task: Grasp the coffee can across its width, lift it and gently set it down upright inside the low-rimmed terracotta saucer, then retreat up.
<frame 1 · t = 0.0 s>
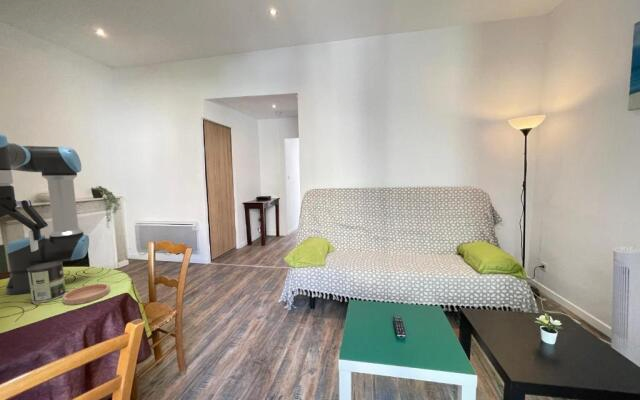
hand: (3, 253, 79), 28 cm above the table, fingers open, 13 cm apart
saucer: (87, 296, 109), on the table
coffee can: (49, 297, 109), on the table
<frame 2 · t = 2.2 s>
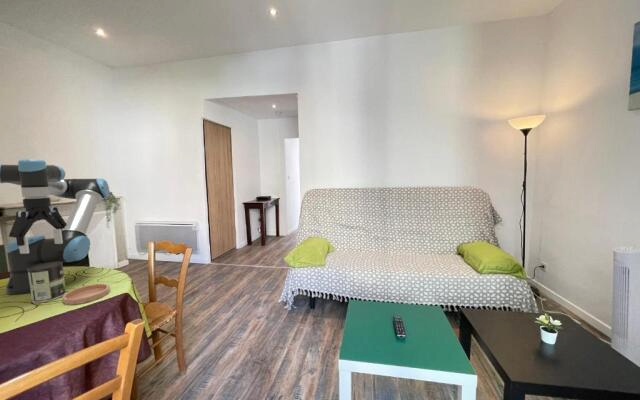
hand: (42, 248, 106), 22 cm above the table, fingers open, 13 cm apart
nothing on the table moved.
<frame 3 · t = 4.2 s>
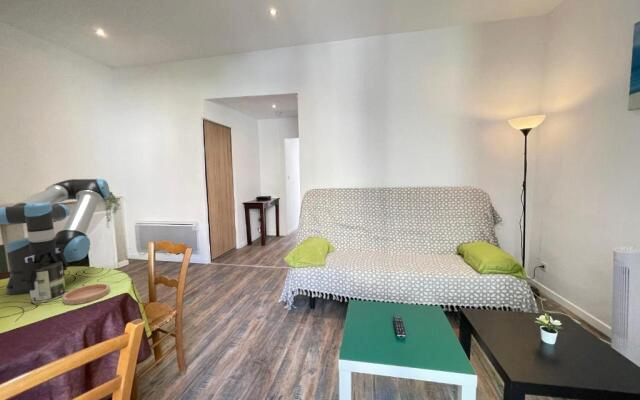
hand: (48, 290, 108), 3 cm above the table, fingers closed on coffee can, 10 cm apart
coffee can: (49, 297, 109), on the table, touching gripper
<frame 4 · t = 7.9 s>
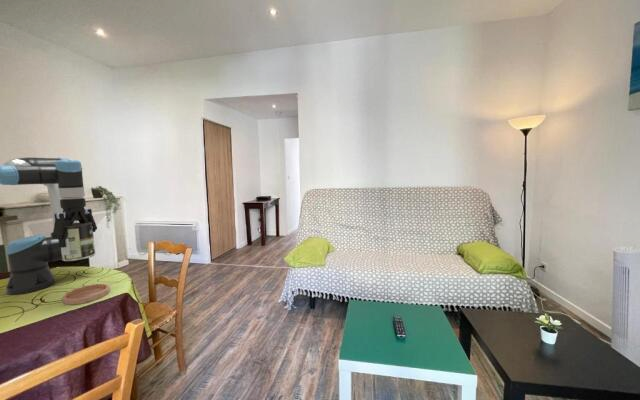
hand: (78, 250, 107), 20 cm above the table, fingers closed on coffee can, 10 cm apart
coffee can: (79, 257, 107), point 17 cm above the table, touching gripper
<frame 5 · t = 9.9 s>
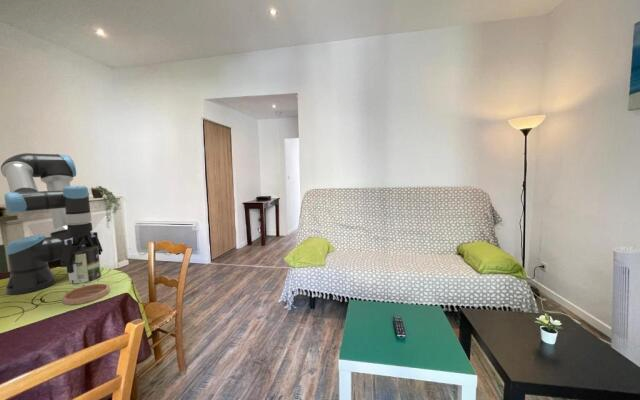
hand: (85, 274, 108), 10 cm above the table, fingers closed on coffee can, 10 cm apart
coffee can: (85, 281, 109), point 7 cm above the table, touching gripper
when the fingers open (5 cm above the table, at t = 11.5 s): coffee can drops 1 cm, resting on saucer.
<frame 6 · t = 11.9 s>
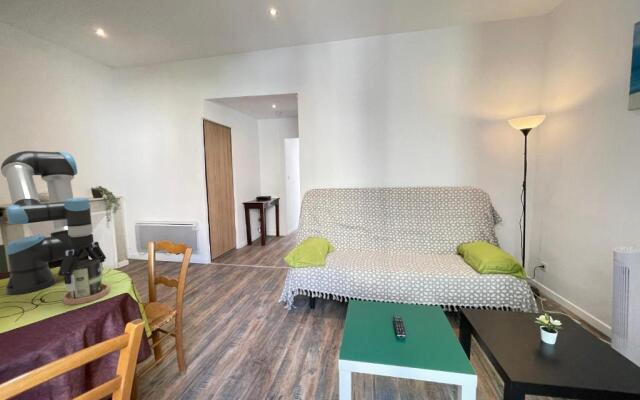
hand: (86, 283, 109), 6 cm above the table, fingers open, 13 cm apart
coffee can: (87, 294, 110), resting on saucer
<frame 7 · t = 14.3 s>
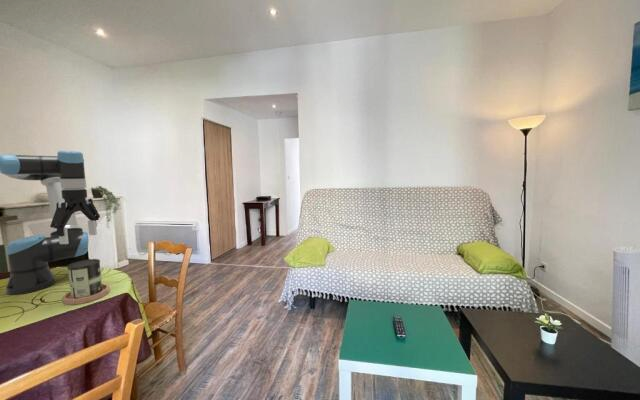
hand: (79, 239, 107), 25 cm above the table, fingers open, 13 cm apart
nothing on the table moved.
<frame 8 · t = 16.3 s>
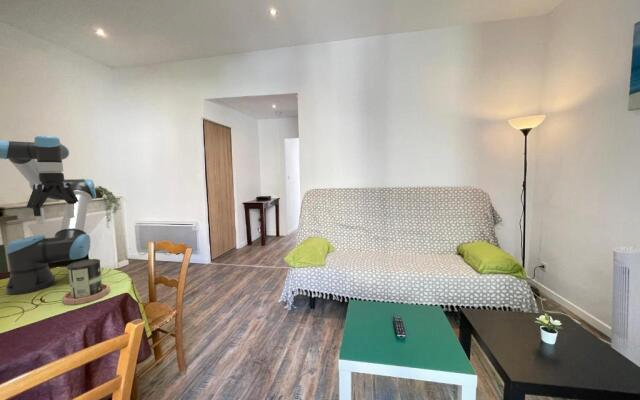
hand: (57, 220, 113), 32 cm above the table, fingers open, 13 cm apart
nothing on the table moved.
at the end: coffee can 0.2 cm off-centre on the saucer, point 0.4 cm above the saucer's base; coffee can tilted 0°; the gripper is holding nothing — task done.
